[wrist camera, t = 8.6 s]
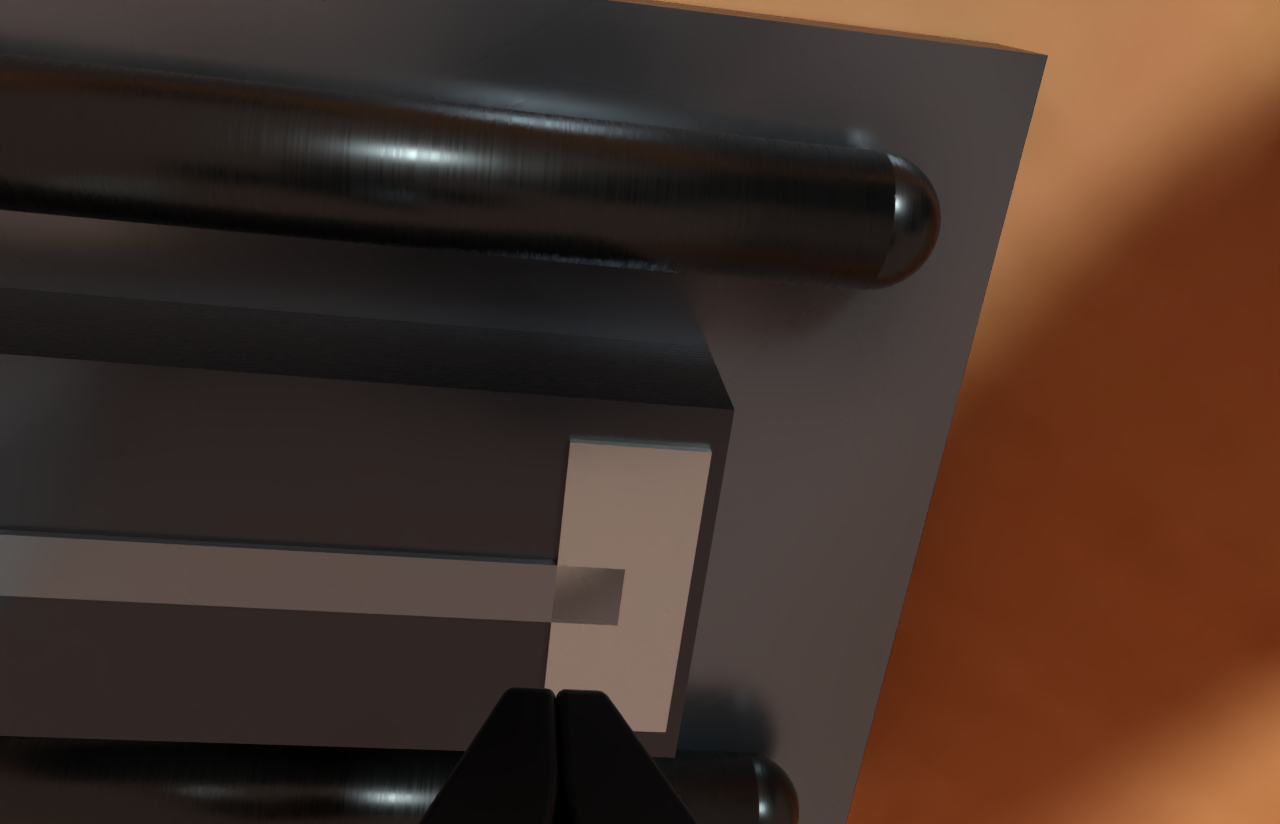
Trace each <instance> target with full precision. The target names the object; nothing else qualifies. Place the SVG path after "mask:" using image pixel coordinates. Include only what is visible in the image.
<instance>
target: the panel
mask: <svg viewBox="0 0 1280 824" xmlns="http://www.w3.org/2000/svg"><path fill="white" fill-rule="evenodd" d="M1047 57H1048V55H1044V54H1039V53H1035V52H1031V51H1026V50H1022V49H1017V48H1013V47H1009V46H1004V45H1000V44H994V43H986V42H978V41H970V40H963V39H955V38H947V37H939V36H931V35H923V34H915V33H907V32H899V31H891V30H884V29H876V28H868V27H860V26H852V25H844V24H836V23H828V22H820V21H813V20H805V19H797V18H789V17H781V16H773V15H765V14H757V13H749V12H742V11H734V10H726V9H718V8H710V7H702V6H694V5H686V4H678V3H671V2H663V1H655V0H0V824H418V823H419V822H420V820H421V819H422V817H423V816H424V814H425V813H426V811H427V809H428V808H429V806H430V805H431V803H432V802H433V800H434V799H435V797H436V796H437V794H438V793H439V791H440V790H441V788H442V786H443V785H444V783H445V782H446V780H447V779H448V777H449V776H450V774H451V773H452V771H453V770H454V768H455V767H456V765H457V763H458V762H459V760H460V759H461V757H462V756H463V754H464V753H465V751H466V750H467V748H468V747H469V745H470V744H471V742H472V740H473V739H474V737H475V736H476V734H477V733H478V731H479V730H480V728H481V727H482V725H483V724H484V722H485V721H486V719H487V717H488V716H489V714H490V713H491V711H492V710H493V708H494V707H495V705H496V704H497V702H498V701H499V699H500V698H501V696H502V695H503V693H504V692H505V691H506V690H507V689H509V688H511V687H528V688H548V689H551V690H552V691H553V692H554V694H555V696H556V695H557V694H558V692H559V691H561V690H562V689H576V690H598V691H602V692H604V693H605V694H607V695H608V697H609V698H610V699H611V701H612V702H613V704H614V705H615V706H616V708H617V709H618V711H619V712H620V713H621V715H622V716H623V718H624V719H625V720H626V722H627V723H628V725H629V726H630V728H631V729H632V730H633V732H634V733H635V735H636V736H637V737H638V739H639V740H640V742H641V743H642V744H643V746H644V747H645V749H646V750H647V751H648V753H649V754H650V756H651V757H652V759H653V760H654V761H655V763H656V764H657V766H658V767H659V768H660V770H661V771H662V773H663V774H664V775H665V777H666V778H667V780H668V781H669V782H670V784H671V785H672V787H673V788H674V790H675V791H676V792H677V794H678V795H679V797H680V798H681V799H682V801H683V802H684V804H685V805H686V806H687V808H688V809H689V811H690V812H691V813H692V815H693V816H694V818H695V819H696V821H697V822H698V823H699V824H846V820H847V816H848V812H849V809H850V805H851V801H852V797H853V793H854V790H855V786H856V782H857V778H858V774H859V771H860V767H861V763H862V759H863V755H864V752H865V748H866V744H867V740H868V736H869V733H870V729H871V725H872V721H873V717H874V714H875V710H876V706H877V702H878V698H879V695H880V691H881V687H882V683H883V679H884V676H885V672H886V668H887V664H888V660H889V657H890V653H891V649H892V645H893V642H894V638H895V634H896V630H897V626H898V623H899V619H900V615H901V611H902V607H903V604H904V600H905V596H906V592H907V588H908V585H909V581H910V577H911V573H912V569H913V566H914V562H915V558H916V554H917V550H918V547H919V543H920V539H921V535H922V531H923V528H924V524H925V520H926V516H927V512H928V509H929V505H930V501H931V497H932V493H933V490H934V486H935V482H936V478H937V474H938V471H939V467H940V463H941V459H942V455H943V452H944V448H945V444H946V440H947V436H948V433H949V429H950V425H951V421H952V418H953V414H954V410H955V406H956V402H957V399H958V395H959V391H960V387H961V383H962V380H963V376H964V372H965V368H966V364H967V361H968V357H969V353H970V349H971V345H972V342H973V338H974V334H975V330H976V326H977V323H978V319H979V315H980V311H981V307H982V304H983V300H984V296H985V292H986V288H987V285H988V281H989V277H990V273H991V269H992V266H993V262H994V258H995V254H996V250H997V247H998V243H999V239H1000V235H1001V231H1002V228H1003V224H1004V220H1005V216H1006V213H1007V209H1008V205H1009V201H1010V197H1011V194H1012V190H1013V186H1014V182H1015V178H1016V175H1017V171H1018V167H1019V163H1020V159H1021V156H1022V152H1023V148H1024V144H1025V140H1026V137H1027V133H1028V129H1029V125H1030V121H1031V118H1032V114H1033V110H1034V106H1035V102H1036V99H1037V95H1038V91H1039V87H1040V83H1041V80H1042V76H1043V72H1044V68H1045V64H1046V61H1047Z"/></svg>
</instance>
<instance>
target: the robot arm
mask: <svg viewBox="0 0 1280 824" xmlns="http://www.w3.org/2000/svg"><path fill="white" fill-rule="evenodd" d="M418 824H699V823H698V822H697V821H696V819H695V818H694V816H693V815H692V813H691V812H690V811H689V809H688V808H687V806H686V805H685V804H684V802H683V801H682V799H681V798H680V797H679V795H678V794H677V792H676V791H675V790H674V788H673V787H672V785H671V784H670V782H669V781H668V780H667V778H666V777H665V775H664V774H663V773H662V771H661V770H660V768H659V767H658V766H657V764H656V763H655V761H654V760H653V759H652V757H651V756H650V754H649V753H648V751H647V750H646V749H645V747H644V746H643V744H642V743H641V742H640V740H639V739H638V737H637V736H636V735H635V733H634V732H633V730H632V729H631V728H630V726H629V725H628V723H627V722H626V720H625V719H624V718H623V716H622V715H621V713H620V712H619V711H618V709H617V708H616V706H615V705H614V704H613V702H612V701H611V699H610V698H609V697H608V695H607V694H605V693H604V692H602V691H598V690H576V689H562V690H561V691H559V692H558V694H557V695H556V696H555V694H554V692H553V691H552V690H551V689H548V688H528V687H511V688H509V689H507V690H506V691H505V692H504V693H503V695H502V696H501V698H500V699H499V701H498V702H497V704H496V705H495V707H494V708H493V710H492V711H491V713H490V714H489V716H488V717H487V719H486V721H485V722H484V724H483V725H482V727H481V728H480V730H479V731H478V733H477V734H476V736H475V737H474V739H473V740H472V742H471V744H470V745H469V747H468V748H467V750H466V751H465V753H464V754H463V756H462V757H461V759H460V760H459V762H458V763H457V765H456V767H455V768H454V770H453V771H452V773H451V774H450V776H449V777H448V779H447V780H446V782H445V783H444V785H443V786H442V788H441V790H440V791H439V793H438V794H437V796H436V797H435V799H434V800H433V802H432V803H431V805H430V806H429V808H428V809H427V811H426V813H425V814H424V816H423V817H422V819H421V820H420V822H419V823H418Z"/></svg>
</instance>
